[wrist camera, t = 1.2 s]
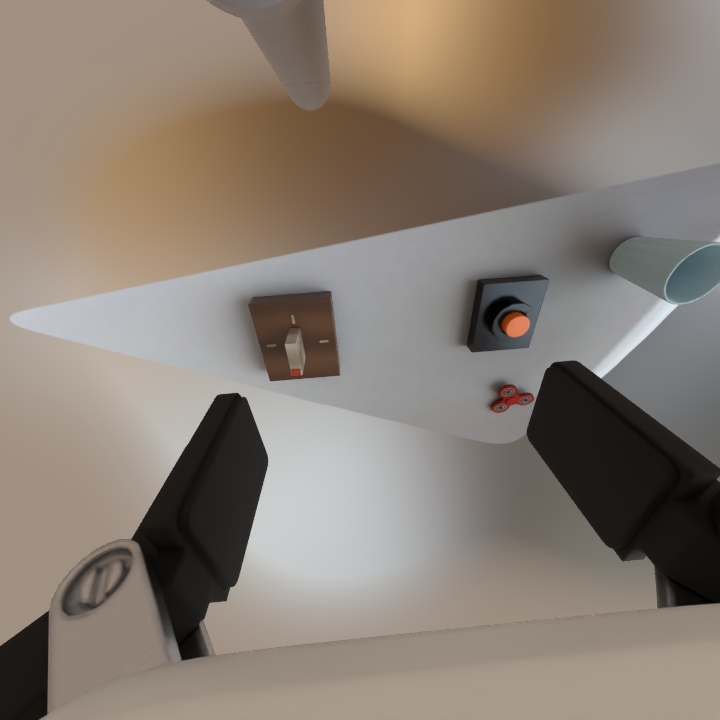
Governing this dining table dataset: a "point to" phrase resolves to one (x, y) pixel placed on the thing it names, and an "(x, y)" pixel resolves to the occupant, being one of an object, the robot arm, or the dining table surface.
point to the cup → (669, 267)
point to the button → (515, 324)
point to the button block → (504, 311)
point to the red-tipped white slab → (295, 351)
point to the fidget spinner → (511, 398)
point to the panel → (316, 332)
